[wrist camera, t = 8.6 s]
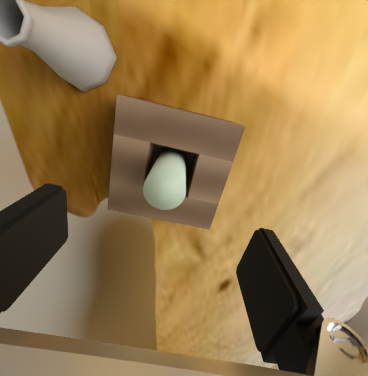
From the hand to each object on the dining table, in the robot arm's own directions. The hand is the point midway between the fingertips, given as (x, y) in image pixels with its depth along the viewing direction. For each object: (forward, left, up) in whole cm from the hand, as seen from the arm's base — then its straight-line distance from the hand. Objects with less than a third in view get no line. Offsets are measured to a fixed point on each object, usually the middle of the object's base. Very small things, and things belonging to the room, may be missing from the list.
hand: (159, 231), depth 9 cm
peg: (+1, 0, -16) cm, 16 cm away
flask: (-8, -12, -17) cm, 23 cm away
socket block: (+1, 0, -17) cm, 17 cm away
